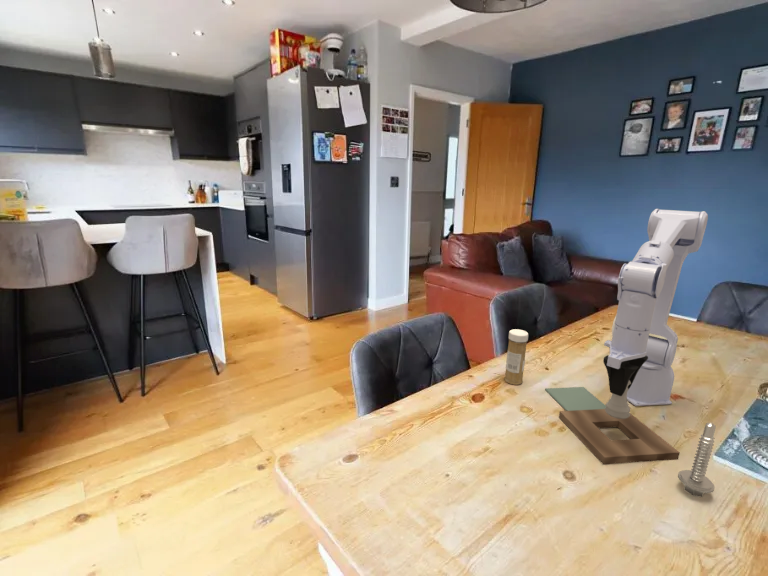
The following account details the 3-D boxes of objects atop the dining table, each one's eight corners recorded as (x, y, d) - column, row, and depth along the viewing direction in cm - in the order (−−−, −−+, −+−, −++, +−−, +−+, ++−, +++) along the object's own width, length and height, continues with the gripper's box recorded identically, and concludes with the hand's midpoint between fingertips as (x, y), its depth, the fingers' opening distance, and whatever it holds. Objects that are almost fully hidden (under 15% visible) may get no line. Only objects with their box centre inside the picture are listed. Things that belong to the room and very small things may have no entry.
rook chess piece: (599, 412, 81) (604, 374, 79) (612, 406, 83) (616, 370, 81) (622, 422, 77) (627, 383, 75) (634, 416, 79) (640, 378, 78)
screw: (674, 492, 67) (676, 476, 70) (711, 507, 64) (711, 489, 67) (691, 423, 63) (693, 410, 67) (731, 436, 60) (731, 421, 64)
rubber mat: (583, 388, 100) (583, 386, 100) (609, 410, 90) (610, 409, 90) (545, 389, 98) (545, 388, 98) (567, 412, 89) (568, 411, 89)
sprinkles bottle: (526, 382, 102) (532, 333, 98) (514, 387, 99) (520, 336, 96) (511, 375, 106) (517, 327, 102) (500, 379, 103) (505, 330, 100)
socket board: (622, 413, 89) (623, 407, 89) (678, 459, 75) (679, 452, 74) (558, 417, 87) (559, 411, 87) (603, 464, 73) (604, 457, 72)
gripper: (622, 312, 83) (611, 372, 87) (594, 328, 74) (583, 394, 77) (662, 321, 78) (648, 384, 82) (637, 340, 69) (623, 410, 72)
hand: (619, 390), depth 79 cm, fingers closed on rook chess piece, 3 cm apart
